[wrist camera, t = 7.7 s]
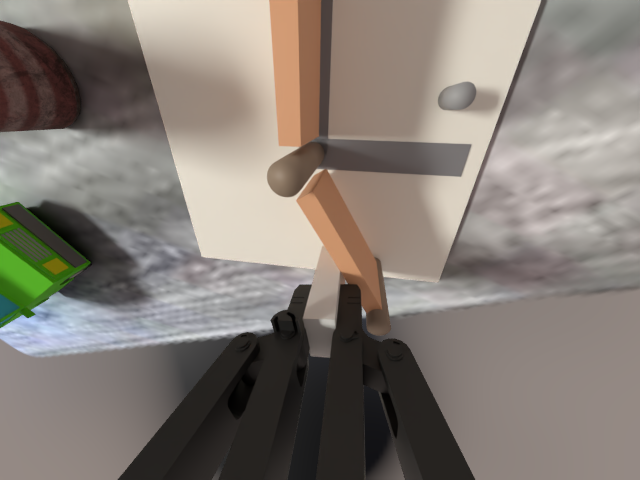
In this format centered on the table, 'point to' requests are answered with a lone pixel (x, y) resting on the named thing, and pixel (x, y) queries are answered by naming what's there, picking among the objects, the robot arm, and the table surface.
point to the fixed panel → (296, 91)
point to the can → (34, 84)
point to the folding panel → (346, 247)
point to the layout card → (334, 119)
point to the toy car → (31, 262)
